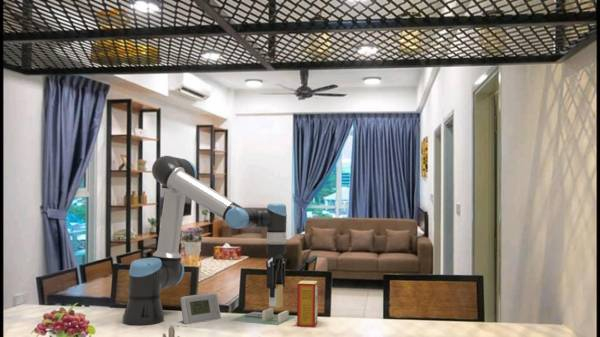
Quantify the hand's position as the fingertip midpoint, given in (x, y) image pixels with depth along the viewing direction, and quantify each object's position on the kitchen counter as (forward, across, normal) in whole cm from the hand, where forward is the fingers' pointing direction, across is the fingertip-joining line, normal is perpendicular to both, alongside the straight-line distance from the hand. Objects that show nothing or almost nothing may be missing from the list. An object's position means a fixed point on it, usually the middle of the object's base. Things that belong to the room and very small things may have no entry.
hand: (275, 305), depth 185 cm
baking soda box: (+7, +3, -12) cm, 14 cm away
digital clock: (+7, -13, +25) cm, 29 cm away
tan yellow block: (+1, 0, 0) cm, 1 cm away
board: (+7, 0, +5) cm, 8 cm away
